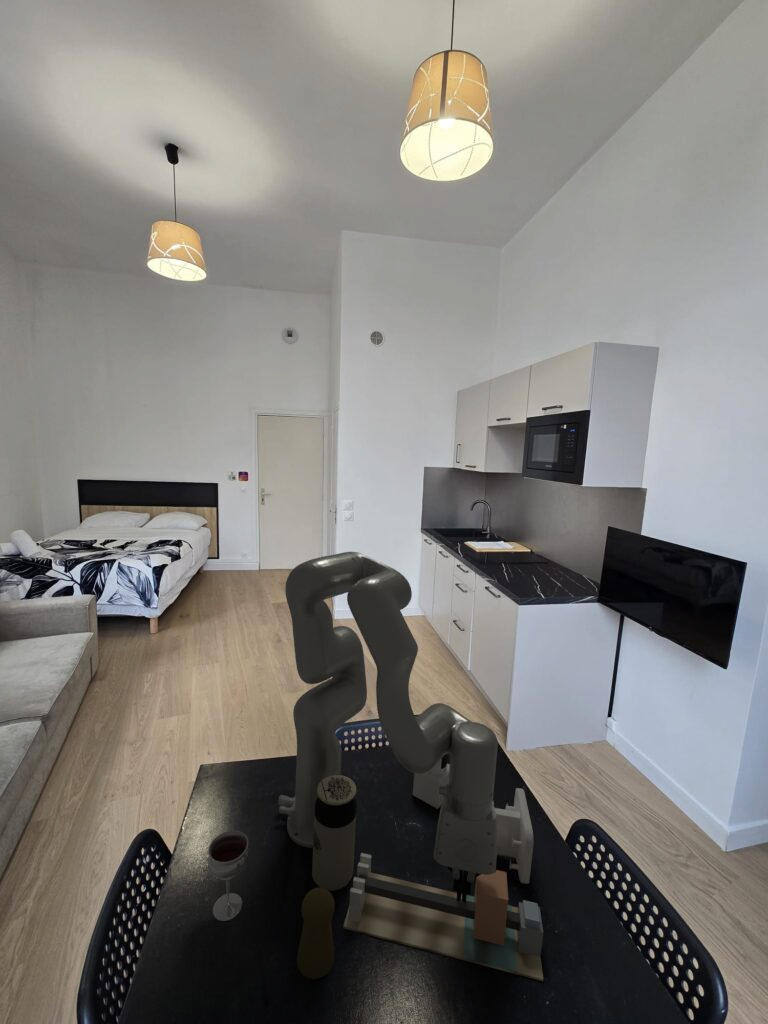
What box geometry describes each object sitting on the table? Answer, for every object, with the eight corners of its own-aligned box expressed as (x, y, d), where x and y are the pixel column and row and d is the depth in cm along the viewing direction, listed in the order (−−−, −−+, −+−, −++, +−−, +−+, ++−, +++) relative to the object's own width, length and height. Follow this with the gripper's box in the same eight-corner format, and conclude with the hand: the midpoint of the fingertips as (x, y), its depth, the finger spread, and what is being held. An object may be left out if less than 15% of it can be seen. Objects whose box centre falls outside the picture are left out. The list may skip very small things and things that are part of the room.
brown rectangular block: (473, 937, 76) (477, 893, 75) (473, 908, 81) (477, 865, 80) (503, 945, 75) (508, 900, 74) (501, 915, 80) (506, 872, 79)
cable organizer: (530, 896, 86) (536, 841, 84) (473, 886, 87) (478, 831, 86) (518, 832, 100) (523, 784, 99) (470, 824, 102) (474, 777, 100)
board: (343, 928, 78) (343, 925, 78) (359, 871, 89) (359, 869, 89) (543, 981, 72) (543, 978, 72) (534, 913, 82) (534, 911, 82)
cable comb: (348, 921, 79) (349, 892, 78) (360, 878, 87) (361, 851, 86) (359, 924, 79) (360, 895, 78) (370, 880, 87) (371, 854, 86)
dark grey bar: (356, 890, 82) (357, 882, 82) (358, 882, 83) (359, 874, 83) (528, 933, 76) (529, 924, 76) (527, 923, 78) (528, 915, 78)
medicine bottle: (426, 779, 115) (430, 735, 114) (451, 792, 111) (455, 747, 110) (411, 795, 109) (415, 749, 108) (437, 810, 105) (441, 762, 104)
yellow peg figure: (301, 986, 69) (304, 923, 68) (293, 946, 75) (295, 887, 73) (339, 970, 72) (342, 909, 70) (328, 932, 77) (331, 875, 76)
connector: (518, 953, 75) (521, 920, 75) (516, 926, 80) (519, 895, 79) (540, 959, 75) (544, 926, 74) (536, 932, 79) (540, 900, 78)
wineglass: (204, 929, 76) (205, 866, 75) (210, 891, 83) (210, 832, 81) (246, 922, 78) (247, 860, 76) (248, 885, 84) (250, 827, 83)
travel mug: (350, 852, 93) (355, 772, 90) (355, 889, 85) (360, 802, 83) (311, 856, 91) (315, 775, 89) (312, 894, 83) (316, 806, 81)
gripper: (423, 806, 74) (416, 904, 76) (517, 825, 71) (507, 926, 74) (428, 775, 82) (421, 865, 84) (513, 791, 79) (504, 884, 81)
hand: (461, 894), depth 79 cm, fingers closed
